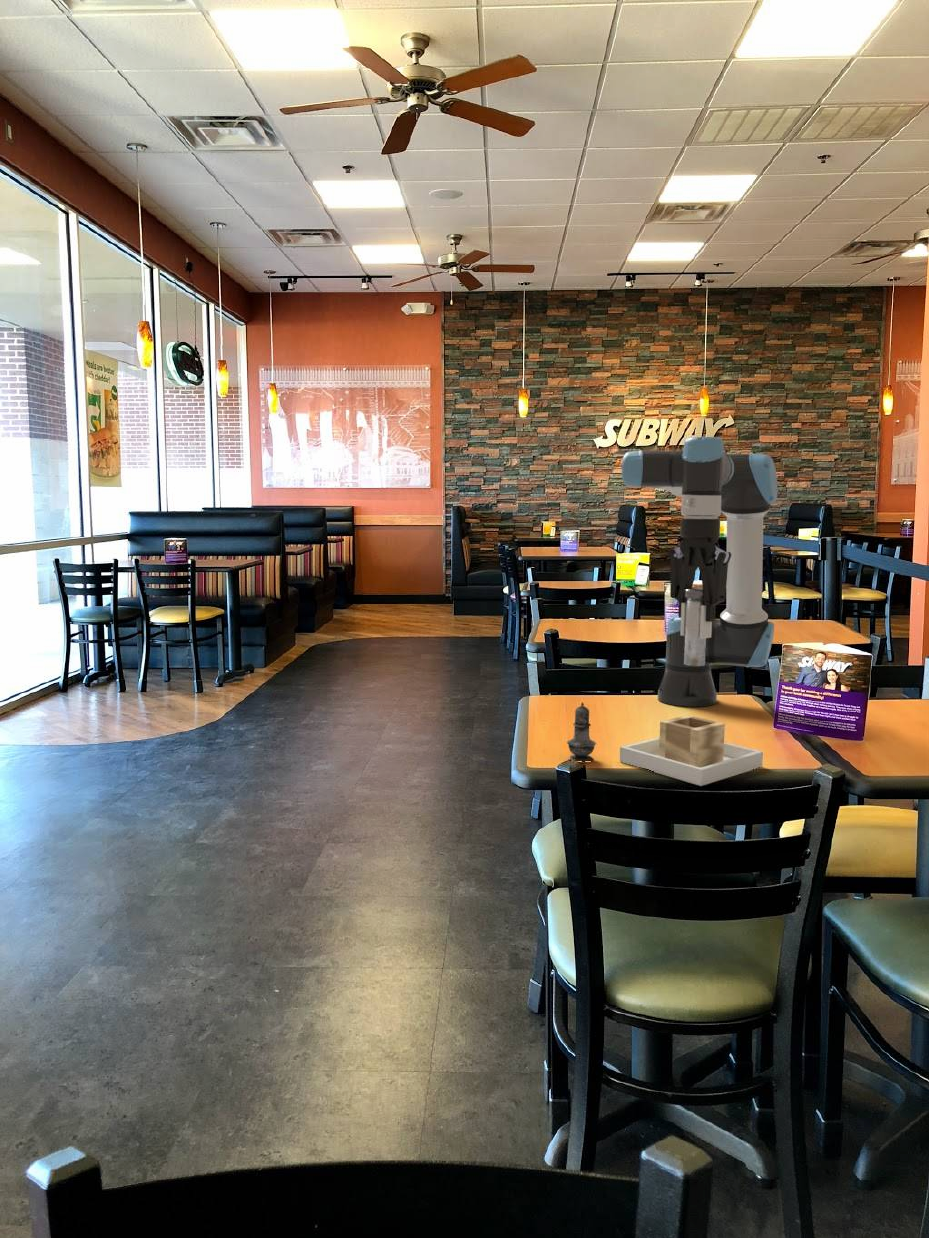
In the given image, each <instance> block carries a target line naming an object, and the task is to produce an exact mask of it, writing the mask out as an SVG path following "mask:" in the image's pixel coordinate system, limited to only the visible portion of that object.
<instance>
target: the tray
mask: <svg viewBox="0 0 929 1238" xmlns="http://www.w3.org/2000/svg"><path fill="white" fill-rule="evenodd" d="M659 741H660V736H659V737H656V738H655V737H654V738H652V739H647V740H642V741H639V742H635V743H631V744H627V745H622V746H619V762H620V763H622V762H623V764H625V763H626V765H629V764H630V765H629V766H632V765H633V767H635V766H636V767H635V768H639V767H642V768H646V769H649V770H651V771H650V772H652V771H654V772H653V773H656V774H659V775H661V776H662V775H663V776H666V777H670V778H673V779H676V780H679V781H682V782H686V783H689V784H693V785H696V786H699V787H702V786H706V785H709V784H712V783H716V782H718V781H721V780H724V779H728V778H732V777H734V776H737V775H740V774H744V773H747V772H750V771H753V769H754V770H757V769H759V768H758V767H760V768H762V767H763V763H764V762H763V760H764V751H761V750H757V749H753V748H749V747H745V746H741V745H737V744H733V743H730V742H729V743H728V742H727V741H726V742H725V741H724V752H723V761H722V762H718V763H715V764H712V765H708V766H705V767H701V768H700V767H696V766H692V765H689V764H685V763H682V762H678V761H675V760H671V759H667V758H664V757H660V756H659ZM761 766H762V767H761ZM642 768H641V769H642ZM756 768H757V769H756ZM649 770H648V771H649Z"/></svg>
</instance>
